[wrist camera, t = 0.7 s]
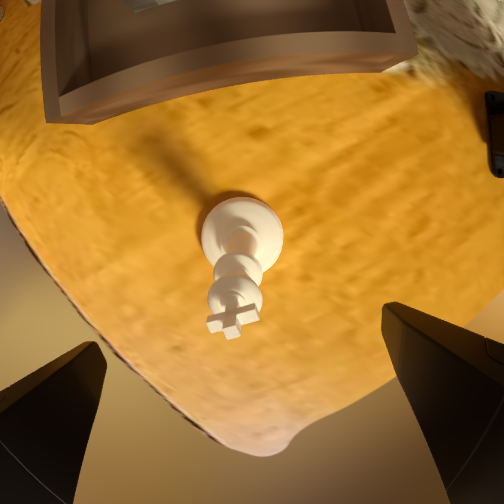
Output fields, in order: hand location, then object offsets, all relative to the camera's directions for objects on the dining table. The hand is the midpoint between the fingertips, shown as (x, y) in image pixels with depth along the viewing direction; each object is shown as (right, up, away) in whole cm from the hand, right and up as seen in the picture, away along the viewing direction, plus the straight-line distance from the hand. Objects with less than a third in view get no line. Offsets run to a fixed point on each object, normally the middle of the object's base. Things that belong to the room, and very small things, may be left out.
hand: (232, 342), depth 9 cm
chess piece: (0, +4, +10) cm, 11 cm away
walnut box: (-2, +22, +3) cm, 23 cm away
